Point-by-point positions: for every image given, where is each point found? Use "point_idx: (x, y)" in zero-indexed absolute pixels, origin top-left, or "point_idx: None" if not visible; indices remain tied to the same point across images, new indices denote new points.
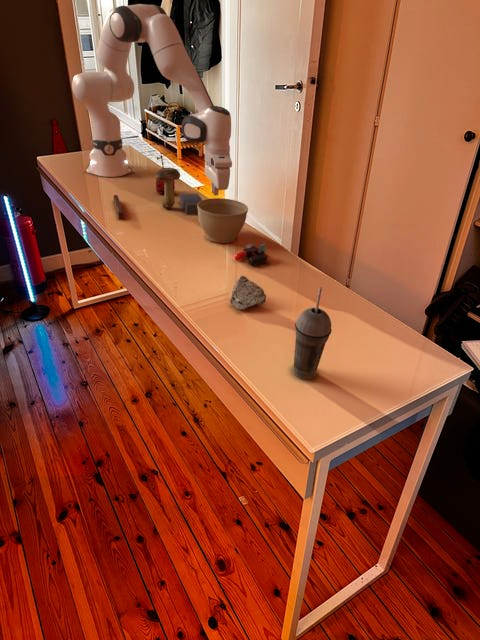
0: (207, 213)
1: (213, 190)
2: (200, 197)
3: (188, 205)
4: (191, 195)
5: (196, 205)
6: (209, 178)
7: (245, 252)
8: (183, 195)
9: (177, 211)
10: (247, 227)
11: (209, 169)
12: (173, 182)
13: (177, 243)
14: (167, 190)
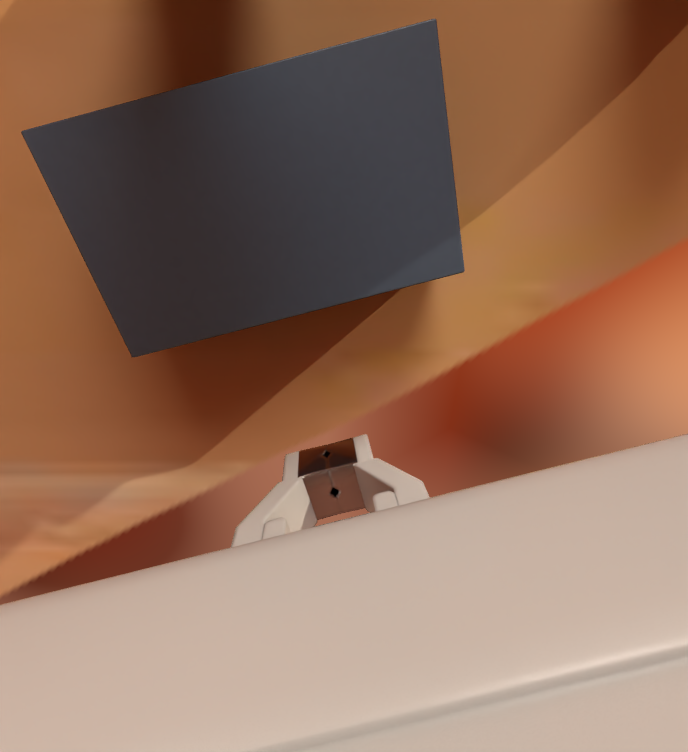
0: None
1: (301, 474)
2: (342, 300)
3: (36, 154)
4: (394, 192)
5: (86, 257)
6: (424, 509)
7: None
8: (379, 76)
9: (139, 36)
10: (10, 586)
11: (539, 659)
12: None
13: None
14: None
